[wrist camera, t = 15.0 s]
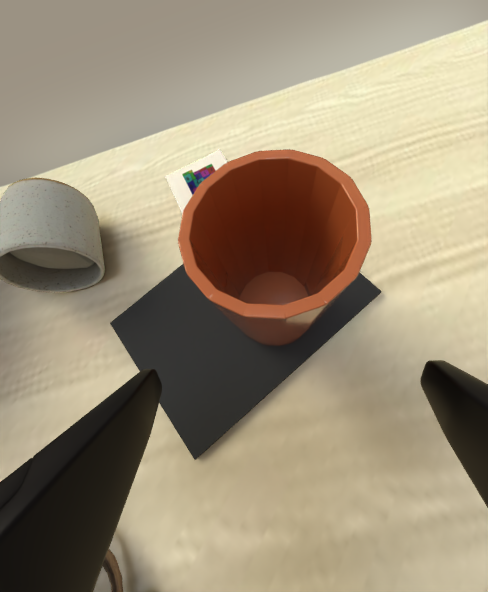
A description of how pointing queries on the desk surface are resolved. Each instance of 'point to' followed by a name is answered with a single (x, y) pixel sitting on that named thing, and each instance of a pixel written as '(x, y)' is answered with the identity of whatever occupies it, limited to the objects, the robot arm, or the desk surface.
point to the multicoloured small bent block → (193, 176)
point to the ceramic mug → (49, 237)
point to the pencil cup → (275, 241)
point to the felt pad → (217, 354)
